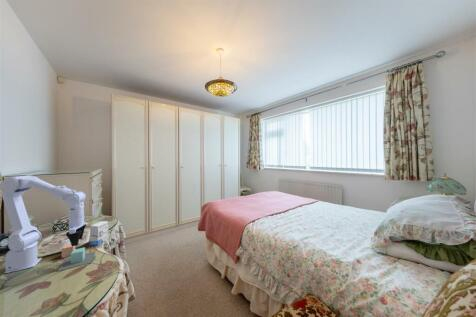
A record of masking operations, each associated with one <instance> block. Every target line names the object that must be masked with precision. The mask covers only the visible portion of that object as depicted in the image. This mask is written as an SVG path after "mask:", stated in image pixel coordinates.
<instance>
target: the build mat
mask: <svg viewBox="0 0 476 317" xmlns="http://www.w3.org/2000/svg"><path fill="white" fill-rule="evenodd" d="M95 254H96V251H91V252H87V253H85V258H84V260H83V261H81V262H77V263H73V264H71V256H69V257H65V259H64V261H63V262H62V264H61V265H60V266H59V268H58V270H57V272H59V271H60V272H61V271H64V270H68V269H72V268H76V267H80V266H85V265H89V264H91V263H92V262H93V258H94V256H95Z"/></svg>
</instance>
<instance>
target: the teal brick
mask: <svg viewBox="0 0 476 317" xmlns="http://www.w3.org/2000/svg"><path fill="white" fill-rule="evenodd" d="M85 254H86V247H85V246H84V247H81V248H80V247H79V248H76V249H75V250H73V251H72V253H71V256H70V257H71V264H73V263H77V262H81V261H83V260H84V258H85Z"/></svg>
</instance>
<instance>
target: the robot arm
mask: <svg viewBox="0 0 476 317" xmlns="http://www.w3.org/2000/svg"><path fill="white" fill-rule="evenodd" d="M0 187H1V191H2V193H1V196H2V201H3V203H4V206H5V209H6V212H7V216H8V218H9V219H8V220H9V222H10V224H11V227H12V232H11V233H10V235H9V236H8V239H7V240H8V249H9V251H7V253H6V255H5V257H4V258H5V259H4V261H5V262H4V263H5V264H4V266H5V271H4V274H8V273H12V272H17V271H22V270H26V269H30V268H34V267H36V265H37V264H38V263H40V261H41V260H42V257H39V258H38V244H39V241H40V240H42V233H41V231H39V229H38V228H37V227H36V226H33V225H31V221H30V219H29V215H28V212H27V210H26V206H25V203H24V199H23V197H22V196H23V195H24V194H25V192H27V191H28V190H30V189H32V188H34V189H37V190H40V191H45V192H47V193H50V195H51V197H53V198H57V199H59V200H62V201H63V202H65V204H66V205H67V208H68V229H69V231H67V232H66V233H65V236H66V237H67V238H68V240H69V243H70V244H71V245H72V246H77V247H78V245H79V240H83V237H84V232H85V229H86V226H87V225H88V222H85V204H84V203H85V201H86V200H87V194H86V193H85V192H84V191H83V190H80V191H79V190H78V191H76V189H71V188H68V187H67V186H66V185H58V186H56V185H53V184H51V183H49V182H46V181H44V180H43V179H41V178H39V177H38V176H35V175H33V174H32V175H31V174H27V175H21V176H20V175H19V176H8V177H5V178H4V179H3V181H2V182H1V183H0Z"/></svg>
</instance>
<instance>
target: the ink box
mask: <svg viewBox="0 0 476 317" xmlns="http://www.w3.org/2000/svg"><path fill="white" fill-rule="evenodd" d="M107 240H109V220H106V221H105V220H101V221H98V222H95V223H93V224H91V225H90V227H89V246H99V245H101V244H103V243H104V242H106V241H107Z"/></svg>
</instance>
